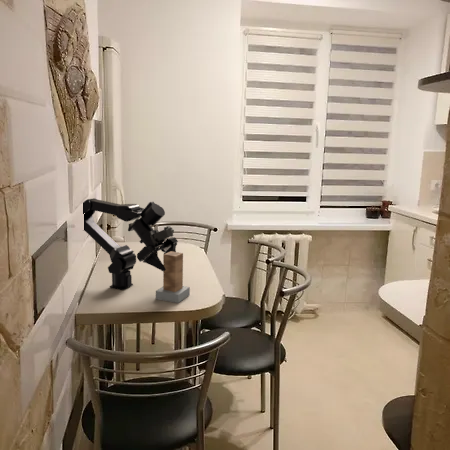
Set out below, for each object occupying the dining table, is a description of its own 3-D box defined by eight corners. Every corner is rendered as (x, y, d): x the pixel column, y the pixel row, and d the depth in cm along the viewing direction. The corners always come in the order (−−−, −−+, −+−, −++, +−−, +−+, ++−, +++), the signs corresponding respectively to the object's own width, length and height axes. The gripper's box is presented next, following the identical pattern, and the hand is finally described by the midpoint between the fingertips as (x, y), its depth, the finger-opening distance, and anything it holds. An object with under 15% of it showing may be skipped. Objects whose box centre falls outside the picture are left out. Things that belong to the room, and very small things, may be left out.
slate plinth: (155, 299, 159) (155, 290, 158) (167, 291, 167) (167, 283, 166) (178, 303, 155) (178, 294, 155) (189, 294, 164) (189, 286, 163)
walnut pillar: (163, 289, 159) (163, 254, 157) (170, 285, 164) (170, 251, 161) (175, 292, 157) (175, 256, 155) (182, 287, 162) (183, 253, 159)
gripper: (143, 223, 150) (171, 260, 147) (173, 215, 166) (199, 248, 164) (125, 243, 155) (151, 279, 152) (156, 233, 171) (180, 265, 169)
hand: (171, 267), depth 159 cm, fingers open, 9 cm apart
